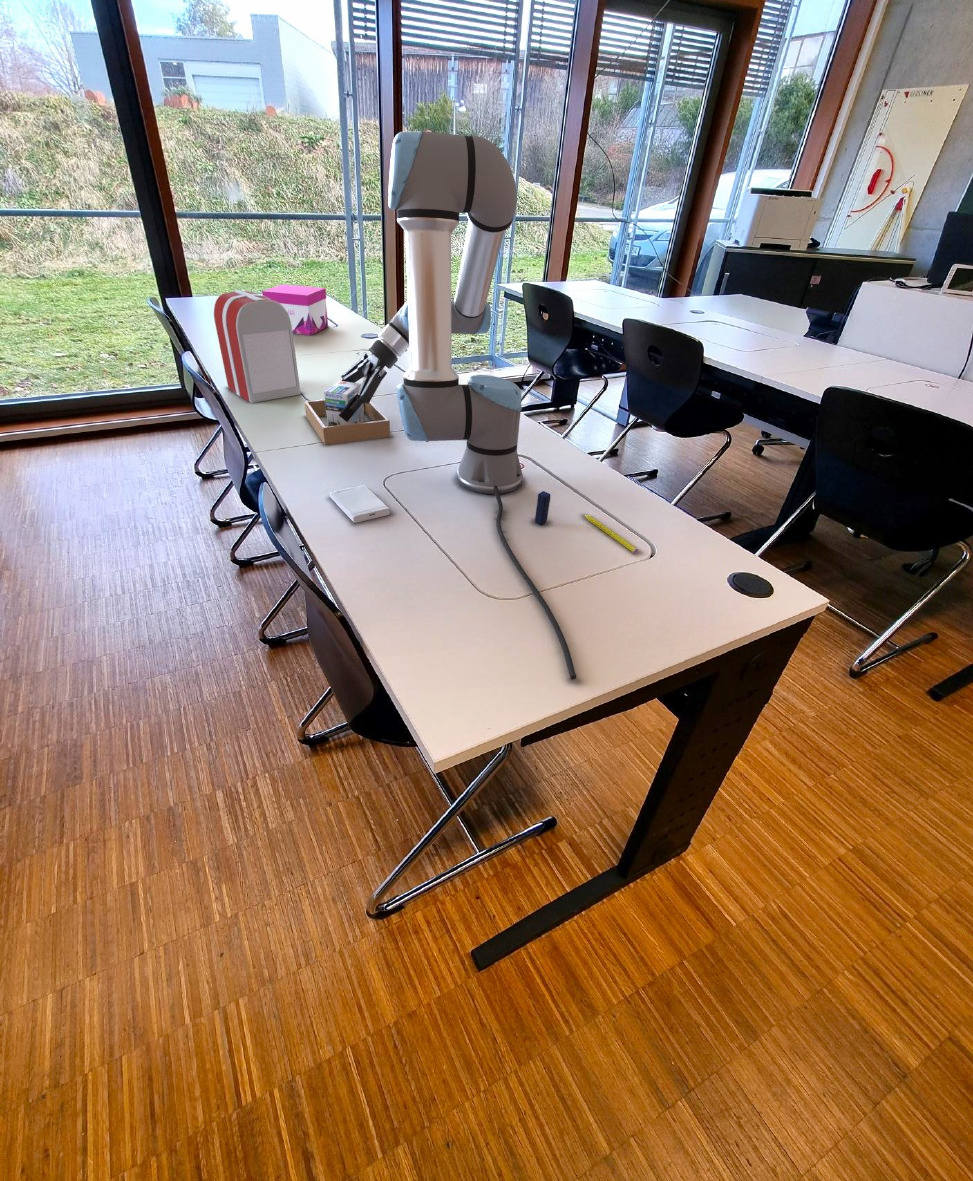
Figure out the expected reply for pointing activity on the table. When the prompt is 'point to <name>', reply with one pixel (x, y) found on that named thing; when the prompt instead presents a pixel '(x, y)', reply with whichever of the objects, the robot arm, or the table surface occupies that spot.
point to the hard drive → (359, 503)
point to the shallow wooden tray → (347, 431)
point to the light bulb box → (342, 403)
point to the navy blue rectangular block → (542, 508)
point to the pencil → (611, 534)
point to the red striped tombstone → (256, 346)
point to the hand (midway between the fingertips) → (336, 410)
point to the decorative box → (302, 306)
